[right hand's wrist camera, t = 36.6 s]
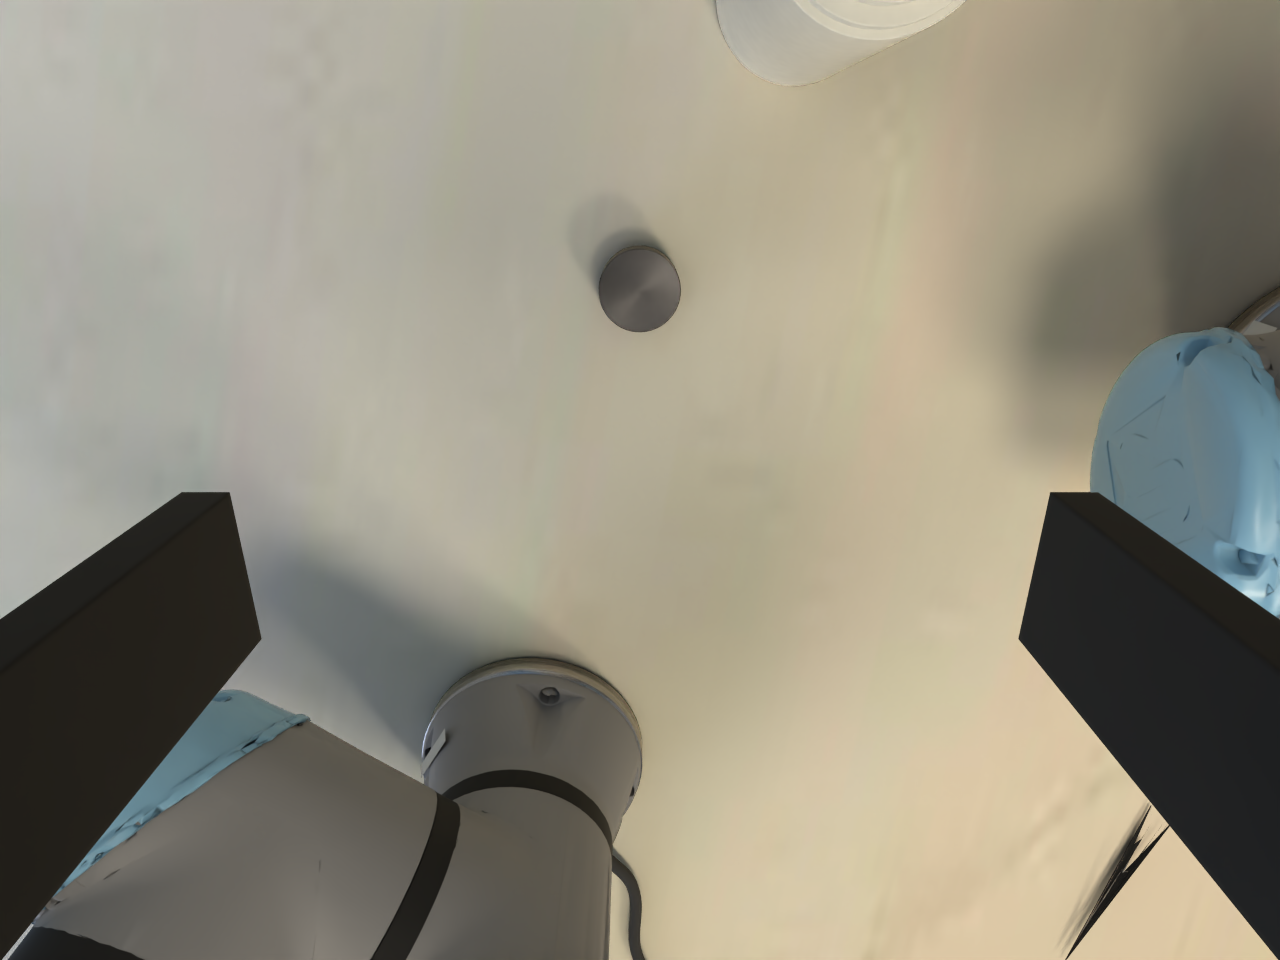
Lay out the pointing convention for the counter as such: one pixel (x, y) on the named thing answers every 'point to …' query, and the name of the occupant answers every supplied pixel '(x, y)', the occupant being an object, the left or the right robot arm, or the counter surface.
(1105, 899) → the feather
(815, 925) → the counter surface
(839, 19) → the bottle
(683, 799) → the counter surface
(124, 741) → the right robot arm
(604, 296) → the cap
